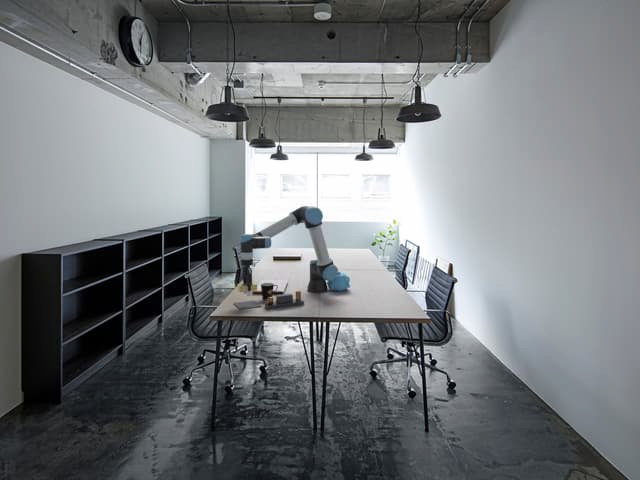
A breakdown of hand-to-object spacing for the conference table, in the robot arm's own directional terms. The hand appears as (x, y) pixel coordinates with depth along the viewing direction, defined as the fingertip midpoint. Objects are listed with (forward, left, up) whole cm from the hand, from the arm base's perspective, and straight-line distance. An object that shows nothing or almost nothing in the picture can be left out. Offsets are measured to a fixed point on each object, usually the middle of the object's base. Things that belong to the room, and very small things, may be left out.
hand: (247, 294), depth 239 cm
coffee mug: (-18, -9, -7) cm, 21 cm away
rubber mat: (0, 0, -7) cm, 7 cm away
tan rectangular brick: (0, 0, +3) cm, 3 cm away
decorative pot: (-73, -11, -7) cm, 74 cm away
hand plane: (-21, +11, -7) cm, 25 cm away
